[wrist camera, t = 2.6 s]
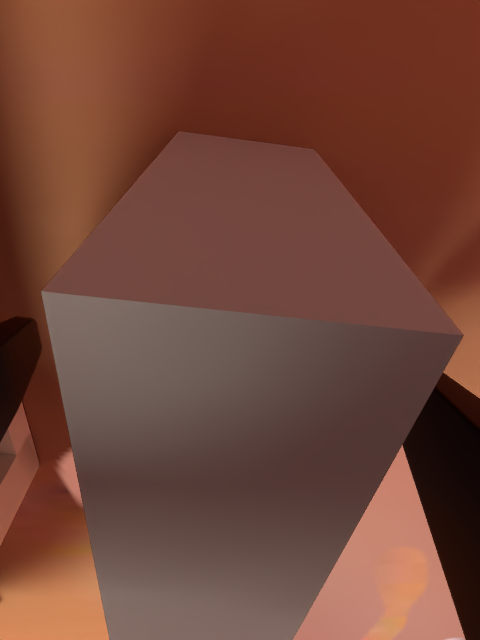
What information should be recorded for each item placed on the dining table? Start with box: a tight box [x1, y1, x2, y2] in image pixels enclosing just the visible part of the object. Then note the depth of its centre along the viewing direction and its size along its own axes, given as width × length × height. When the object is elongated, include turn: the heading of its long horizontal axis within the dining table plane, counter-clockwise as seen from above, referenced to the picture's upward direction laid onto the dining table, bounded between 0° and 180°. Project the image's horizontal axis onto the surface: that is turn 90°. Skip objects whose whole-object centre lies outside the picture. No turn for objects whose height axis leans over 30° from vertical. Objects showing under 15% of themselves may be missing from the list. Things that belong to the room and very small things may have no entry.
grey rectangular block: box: [41, 131, 464, 640], centre depth 8 cm, size 9×3×7 cm, turn 173°
